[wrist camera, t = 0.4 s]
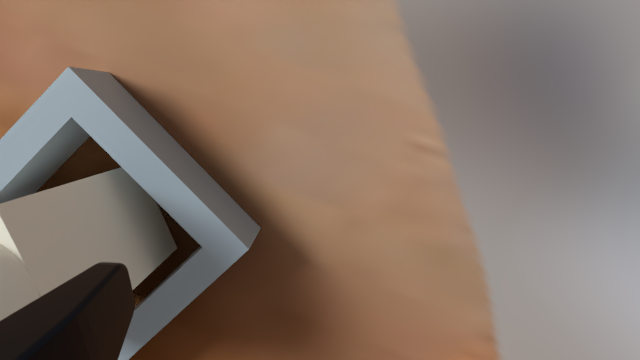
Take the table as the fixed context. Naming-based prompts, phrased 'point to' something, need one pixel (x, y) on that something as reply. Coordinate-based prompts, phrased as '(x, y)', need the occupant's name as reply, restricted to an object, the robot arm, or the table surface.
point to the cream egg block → (78, 235)
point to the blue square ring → (144, 167)
